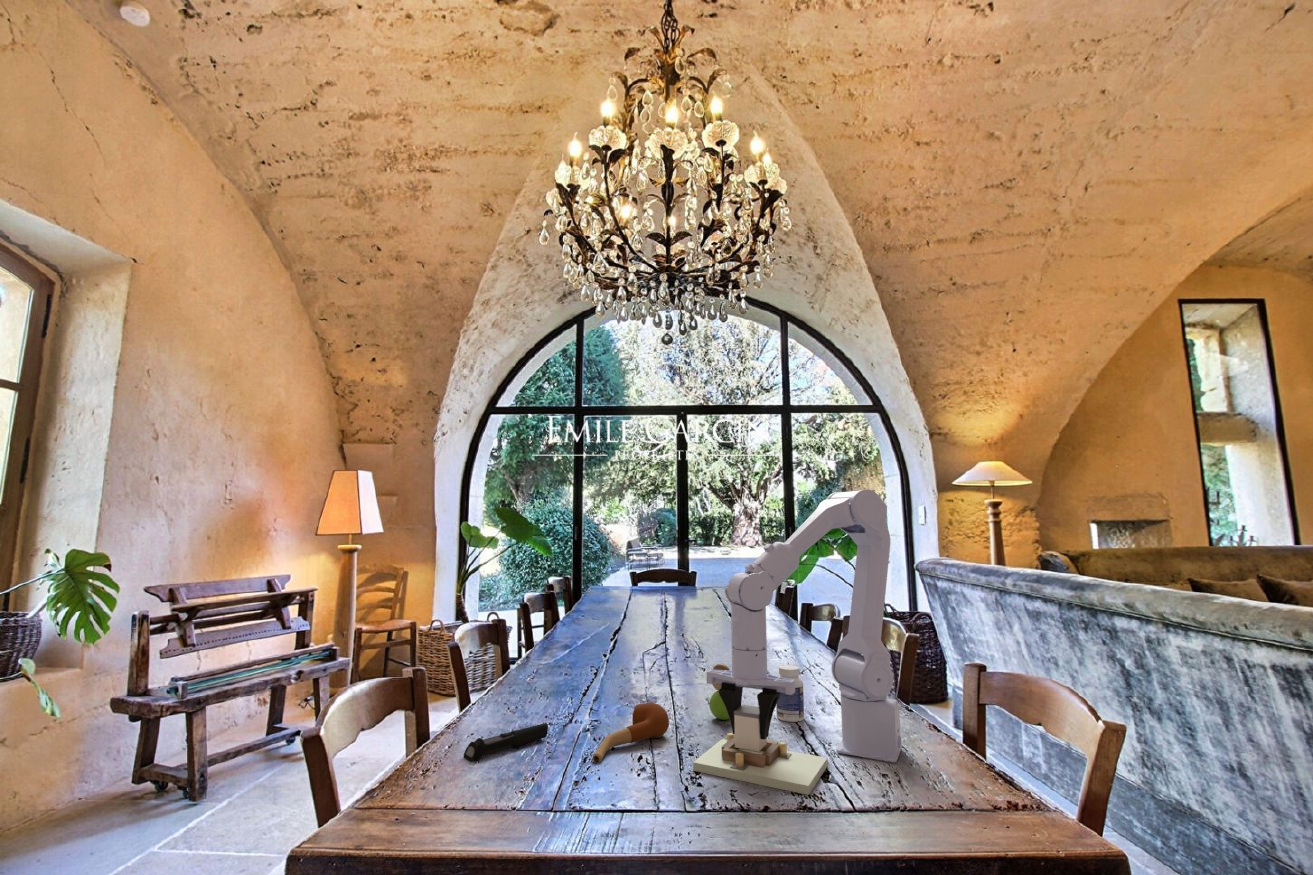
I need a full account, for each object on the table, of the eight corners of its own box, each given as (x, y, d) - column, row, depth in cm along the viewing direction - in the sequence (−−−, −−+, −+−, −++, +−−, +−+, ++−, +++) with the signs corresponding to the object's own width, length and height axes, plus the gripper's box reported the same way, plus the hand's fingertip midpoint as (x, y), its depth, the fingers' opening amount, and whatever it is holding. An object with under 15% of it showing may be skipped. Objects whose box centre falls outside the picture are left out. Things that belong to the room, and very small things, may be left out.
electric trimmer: (552, 743, 107) (553, 724, 107) (472, 765, 96) (473, 744, 97) (540, 738, 110) (541, 720, 110) (461, 758, 99) (463, 738, 100)
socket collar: (782, 752, 99) (782, 742, 99) (767, 769, 92) (766, 758, 92) (736, 743, 102) (736, 734, 102) (718, 759, 95) (718, 749, 96)
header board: (827, 766, 96) (827, 745, 96) (808, 795, 86) (807, 772, 86) (722, 746, 104) (722, 727, 105) (693, 770, 94) (693, 750, 94)
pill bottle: (807, 723, 117) (805, 670, 119) (779, 722, 117) (777, 670, 119) (801, 714, 123) (799, 664, 124) (774, 714, 123) (773, 664, 124)
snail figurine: (732, 726, 115) (731, 660, 117) (704, 719, 119) (703, 656, 120) (746, 719, 119) (745, 656, 121) (718, 713, 123) (718, 652, 125)
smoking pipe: (675, 735, 111) (675, 702, 111) (622, 770, 95) (622, 731, 95) (642, 729, 114) (642, 696, 115) (584, 761, 98) (585, 724, 99)
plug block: (767, 743, 98) (766, 708, 99) (759, 751, 94) (758, 714, 95) (743, 739, 100) (742, 704, 101) (734, 747, 96) (733, 711, 97)
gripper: (698, 647, 99) (699, 735, 97) (785, 656, 93) (787, 751, 91) (715, 640, 105) (716, 722, 103) (797, 648, 99) (800, 737, 97)
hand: (750, 735), depth 97 cm, fingers closed on plug block, 4 cm apart
